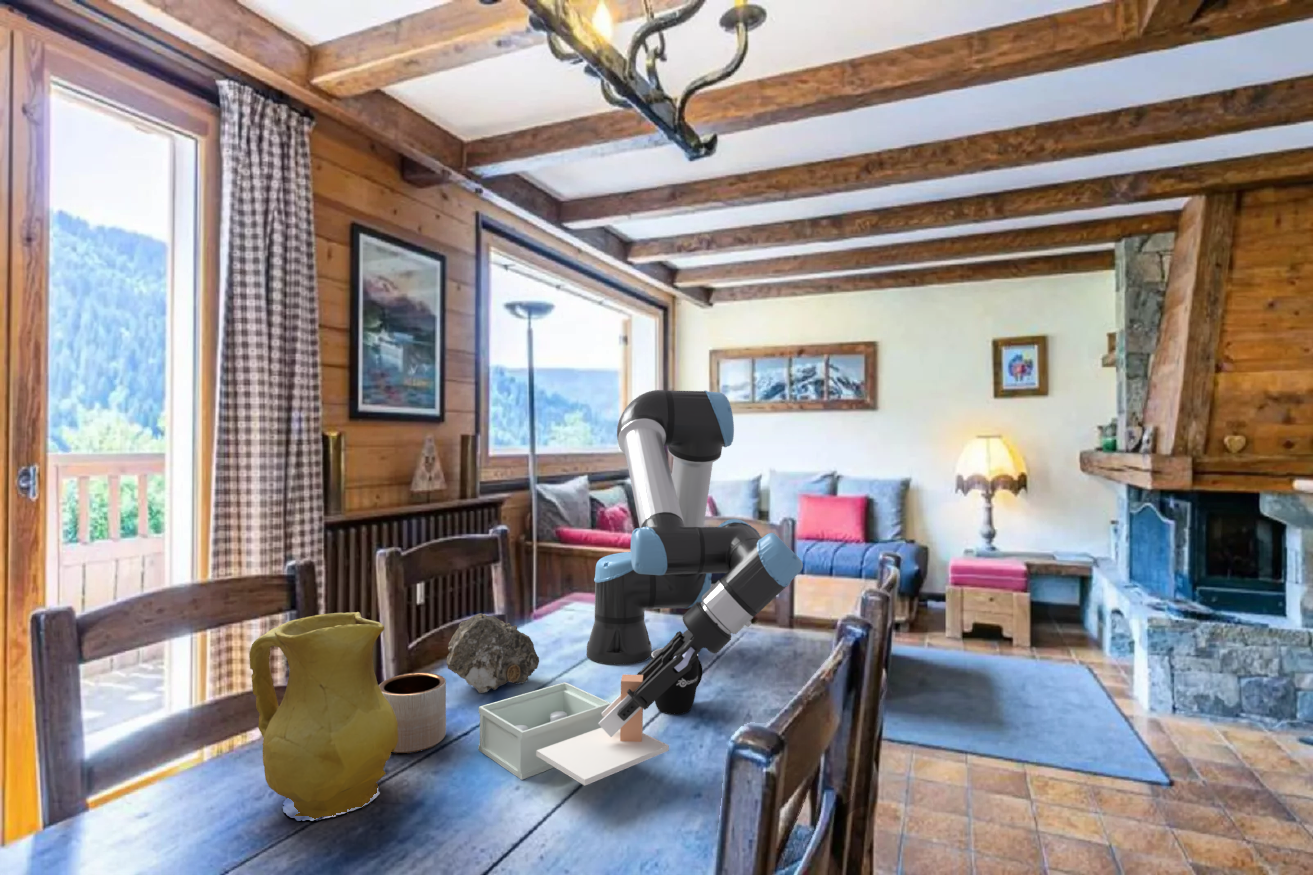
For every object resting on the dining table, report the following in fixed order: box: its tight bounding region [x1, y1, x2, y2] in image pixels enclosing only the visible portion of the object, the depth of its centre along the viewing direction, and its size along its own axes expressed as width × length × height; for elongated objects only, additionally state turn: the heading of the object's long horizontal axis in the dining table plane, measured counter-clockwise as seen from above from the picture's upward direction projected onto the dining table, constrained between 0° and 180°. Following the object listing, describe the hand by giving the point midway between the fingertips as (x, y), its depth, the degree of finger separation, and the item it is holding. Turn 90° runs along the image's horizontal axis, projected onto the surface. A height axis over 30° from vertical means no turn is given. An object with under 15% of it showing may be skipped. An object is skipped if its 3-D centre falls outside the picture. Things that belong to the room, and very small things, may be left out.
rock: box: [445, 613, 540, 694], centre depth 142 cm, size 18×14×15 cm
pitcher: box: [248, 611, 398, 819], centre depth 97 cm, size 17×19×25 cm
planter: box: [378, 672, 447, 754], centre depth 115 cm, size 11×11×10 cm
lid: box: [536, 673, 670, 786], centre depth 102 cm, size 16×12×10 cm
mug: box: [650, 647, 703, 715], centre depth 131 cm, size 12×9×10 cm
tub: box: [477, 681, 612, 781], centre depth 113 cm, size 17×13×7 cm
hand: (606, 724), depth 106 cm, fingers closed on lid, 3 cm apart
